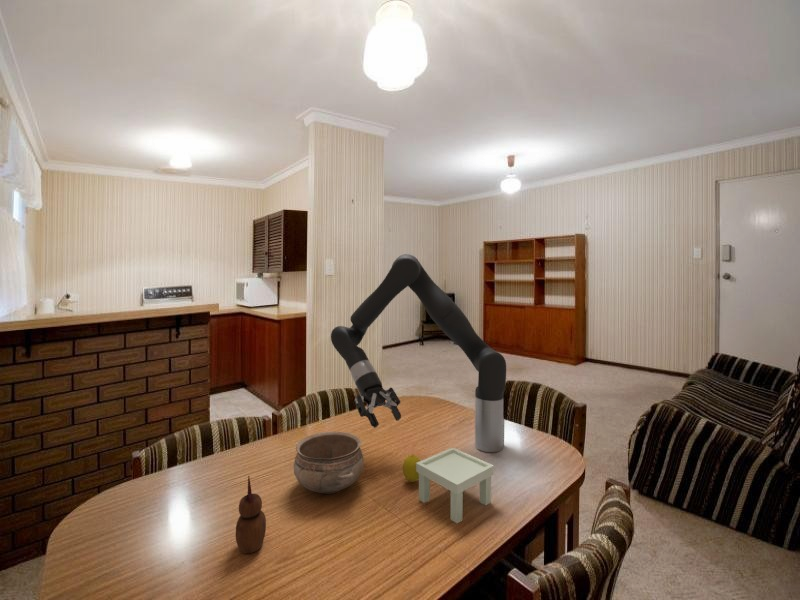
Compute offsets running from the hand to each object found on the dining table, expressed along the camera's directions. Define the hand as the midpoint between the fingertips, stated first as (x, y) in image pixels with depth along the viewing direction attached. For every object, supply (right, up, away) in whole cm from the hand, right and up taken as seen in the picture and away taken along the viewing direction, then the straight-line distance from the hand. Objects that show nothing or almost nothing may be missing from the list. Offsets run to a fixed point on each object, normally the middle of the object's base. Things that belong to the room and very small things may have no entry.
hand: (388, 422), depth 118 cm
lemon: (+7, -15, -7) cm, 18 cm away
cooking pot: (-16, -15, -10) cm, 24 cm away
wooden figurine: (-28, -16, -33) cm, 47 cm away
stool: (+18, -15, -17) cm, 29 cm away
